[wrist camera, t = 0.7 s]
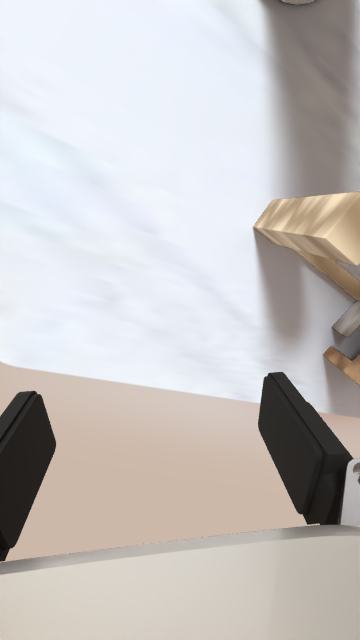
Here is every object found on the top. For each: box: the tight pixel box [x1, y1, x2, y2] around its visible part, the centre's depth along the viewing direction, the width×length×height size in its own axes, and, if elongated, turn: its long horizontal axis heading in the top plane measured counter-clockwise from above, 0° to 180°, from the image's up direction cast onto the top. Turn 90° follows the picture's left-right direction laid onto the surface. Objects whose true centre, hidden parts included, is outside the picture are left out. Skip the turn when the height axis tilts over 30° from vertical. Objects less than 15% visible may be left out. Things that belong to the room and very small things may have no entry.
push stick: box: [253, 192, 360, 338], centre depth 30 cm, size 13×23×16 cm, turn 56°
